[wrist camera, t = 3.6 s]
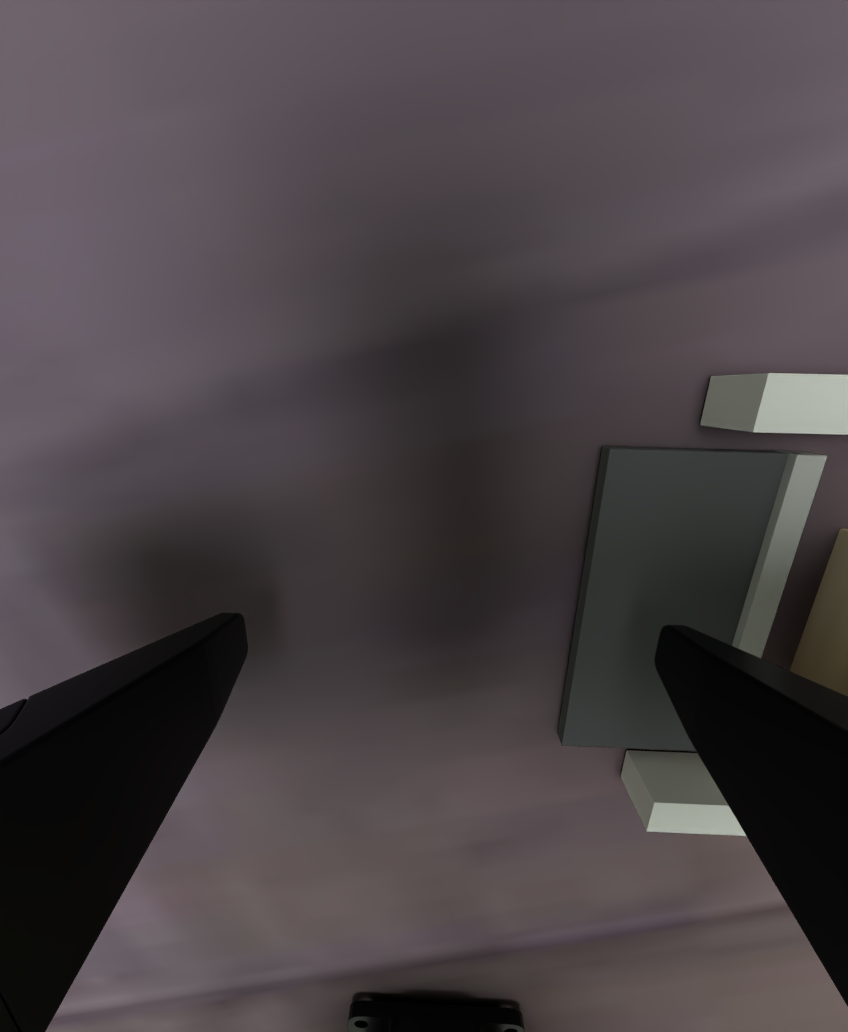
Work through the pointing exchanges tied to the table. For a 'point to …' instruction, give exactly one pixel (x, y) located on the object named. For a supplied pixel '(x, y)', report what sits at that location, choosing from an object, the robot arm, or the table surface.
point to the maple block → (828, 626)
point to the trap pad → (676, 576)
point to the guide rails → (753, 408)
